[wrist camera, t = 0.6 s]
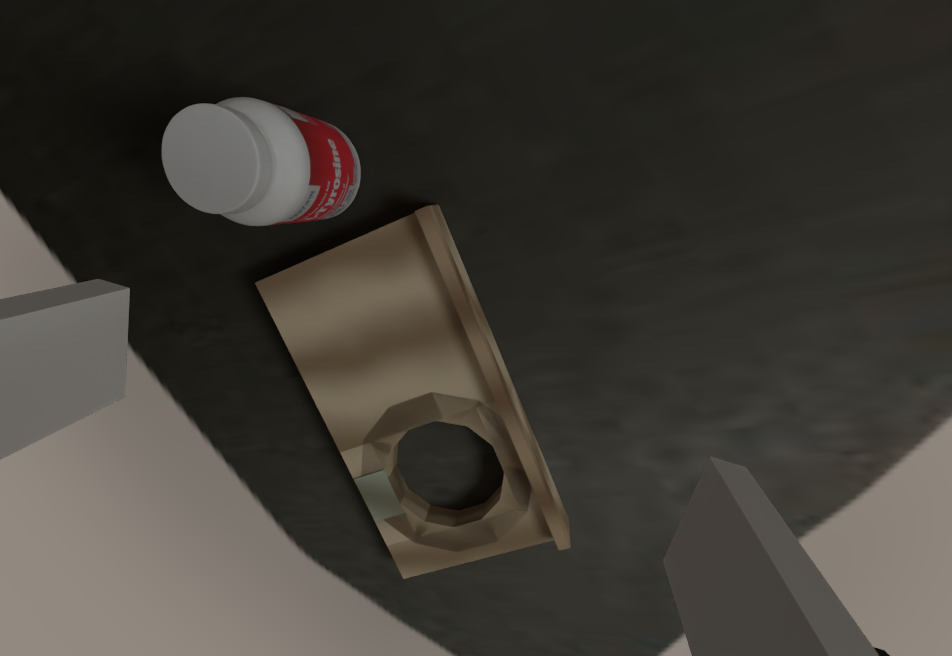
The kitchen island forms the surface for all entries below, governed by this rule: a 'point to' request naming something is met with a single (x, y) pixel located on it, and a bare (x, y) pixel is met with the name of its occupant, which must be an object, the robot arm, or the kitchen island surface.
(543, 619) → the kitchen island surface
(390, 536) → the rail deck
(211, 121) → the pill bottle
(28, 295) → the robot arm
